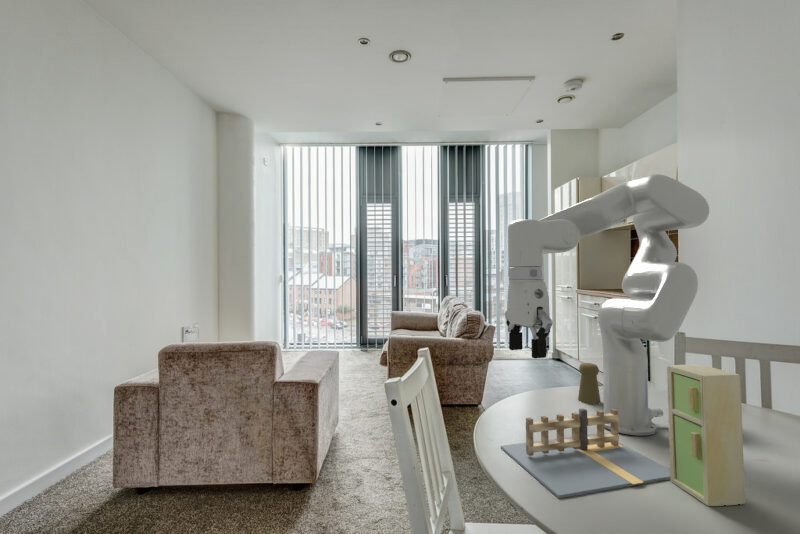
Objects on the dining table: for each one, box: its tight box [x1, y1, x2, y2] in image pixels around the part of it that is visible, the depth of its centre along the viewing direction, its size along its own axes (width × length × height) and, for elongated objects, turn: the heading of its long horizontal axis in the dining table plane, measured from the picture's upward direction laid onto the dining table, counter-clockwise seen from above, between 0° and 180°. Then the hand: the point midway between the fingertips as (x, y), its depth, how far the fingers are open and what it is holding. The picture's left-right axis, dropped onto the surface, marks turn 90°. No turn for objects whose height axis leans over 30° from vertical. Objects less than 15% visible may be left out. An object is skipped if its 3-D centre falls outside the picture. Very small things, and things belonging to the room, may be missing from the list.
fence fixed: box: [578, 408, 620, 451], centre depth 81 cm, size 9×2×9 cm, turn 105°
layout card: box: [500, 433, 671, 499], centre depth 75 cm, size 26×20×1 cm
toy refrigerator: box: [666, 363, 746, 507], centre depth 65 cm, size 8×7×21 cm
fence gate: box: [525, 412, 581, 456], centre depth 78 cm, size 12×1×7 cm, turn 105°
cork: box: [577, 362, 601, 405], centre depth 112 cm, size 6×6×11 cm
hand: (526, 353), depth 84 cm, fingers open, 8 cm apart
